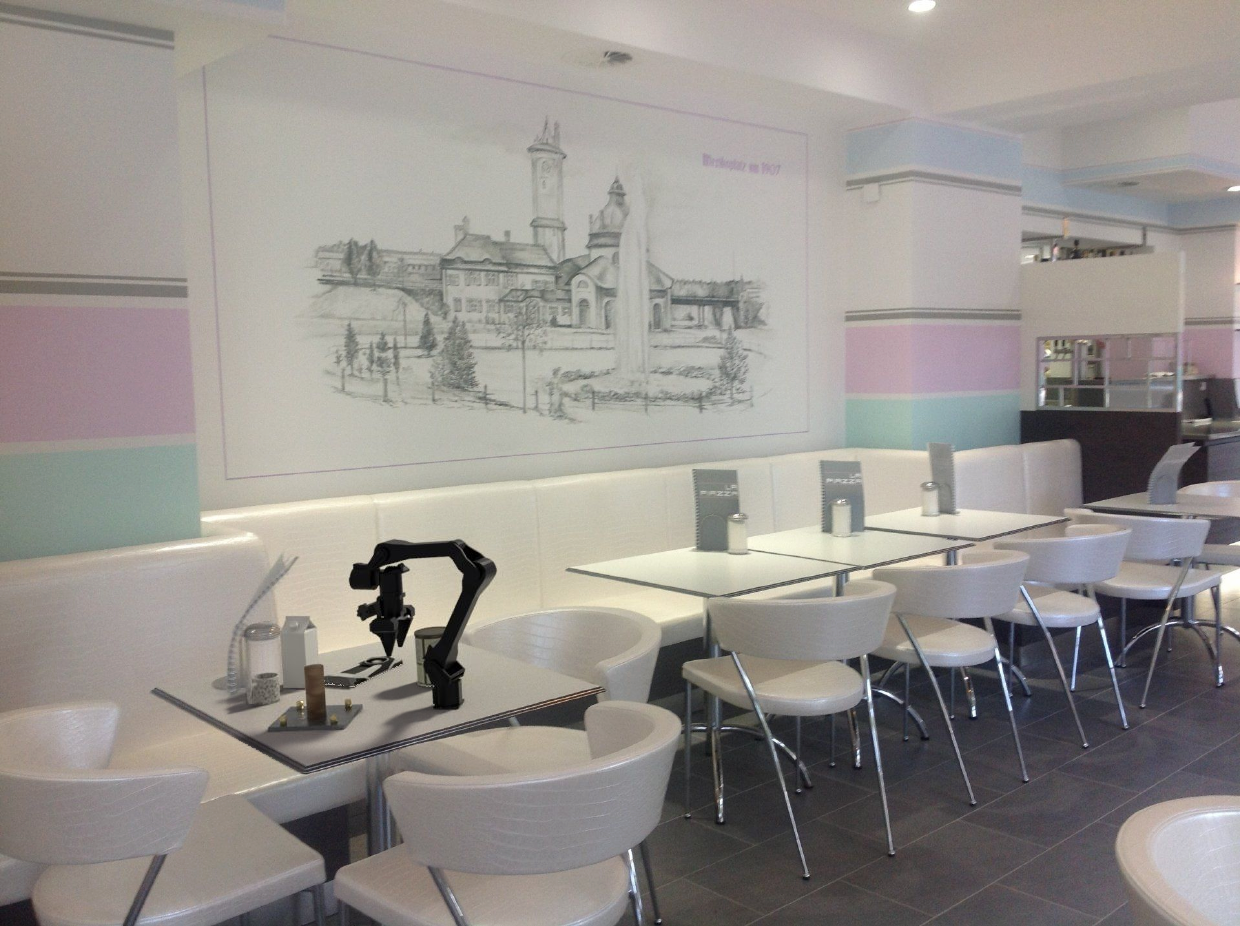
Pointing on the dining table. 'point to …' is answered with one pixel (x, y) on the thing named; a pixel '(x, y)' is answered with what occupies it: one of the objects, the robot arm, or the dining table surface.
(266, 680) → the mug
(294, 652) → the milk carton
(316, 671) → the walnut column
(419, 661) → the coffee can
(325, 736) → the dining table surface
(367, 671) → the graphics card
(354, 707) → the base plate
